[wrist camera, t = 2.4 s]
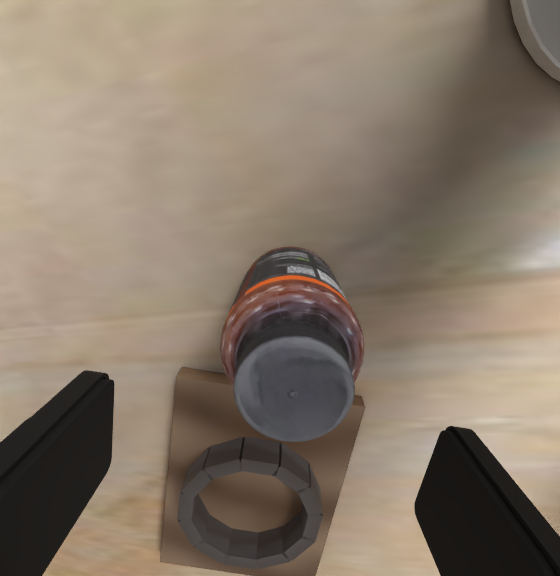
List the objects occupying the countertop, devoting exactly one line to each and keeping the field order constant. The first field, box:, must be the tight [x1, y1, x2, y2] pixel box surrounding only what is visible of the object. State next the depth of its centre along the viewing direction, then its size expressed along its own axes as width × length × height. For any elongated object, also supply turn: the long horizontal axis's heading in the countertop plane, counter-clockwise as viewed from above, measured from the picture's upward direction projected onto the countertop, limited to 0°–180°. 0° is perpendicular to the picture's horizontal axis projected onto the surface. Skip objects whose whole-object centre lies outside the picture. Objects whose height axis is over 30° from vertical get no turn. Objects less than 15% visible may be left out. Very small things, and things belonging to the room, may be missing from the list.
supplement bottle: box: [220, 247, 364, 442], centre depth 16 cm, size 6×6×11 cm
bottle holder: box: [160, 367, 365, 576], centre depth 24 cm, size 18×13×3 cm
